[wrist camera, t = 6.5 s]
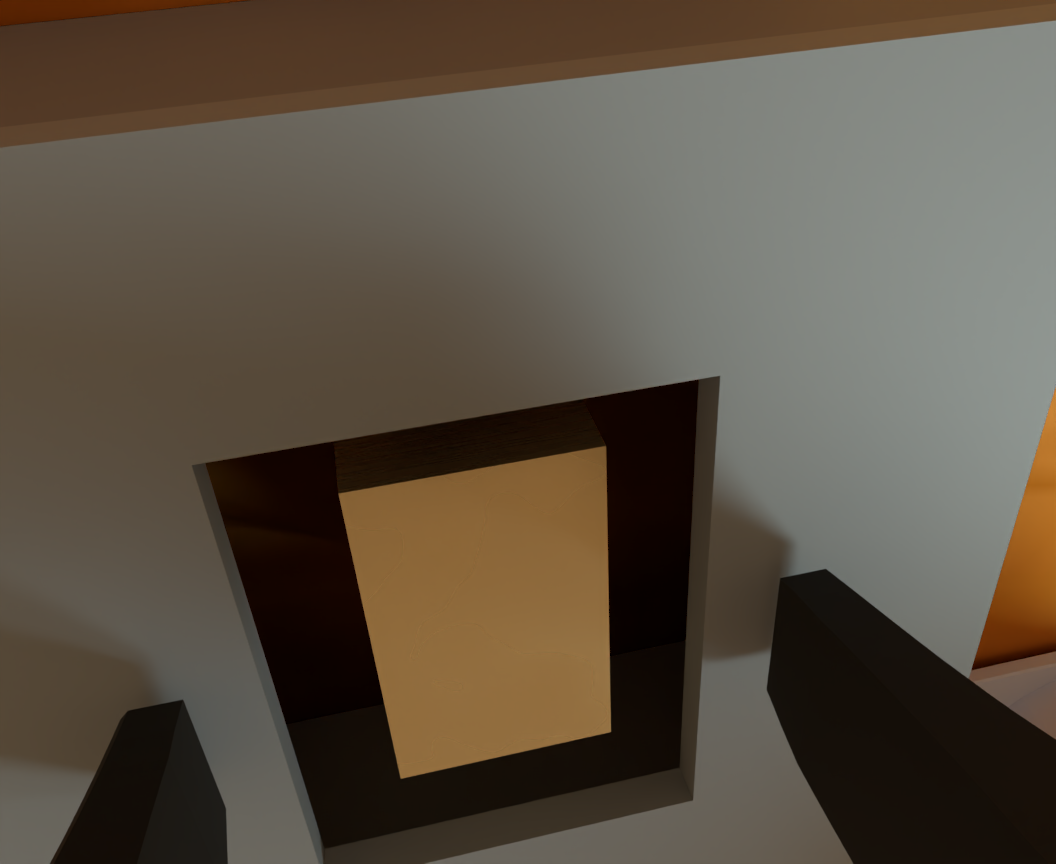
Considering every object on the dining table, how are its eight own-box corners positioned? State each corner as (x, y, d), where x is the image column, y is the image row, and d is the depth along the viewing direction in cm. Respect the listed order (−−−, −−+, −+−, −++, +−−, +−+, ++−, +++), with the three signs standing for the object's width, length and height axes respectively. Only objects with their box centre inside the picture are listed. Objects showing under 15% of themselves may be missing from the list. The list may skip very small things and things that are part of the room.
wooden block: (533, 514, 18) (611, 732, 14) (371, 545, 17) (400, 779, 13) (515, 264, 15) (606, 446, 11) (320, 293, 14) (338, 494, 10)
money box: (787, 644, 21) (915, 857, 17) (128, 785, 19) (88, 1066, 15) (884, -65, 13) (1167, 6, 9) (-224, 49, 11) (-521, 210, 7)
